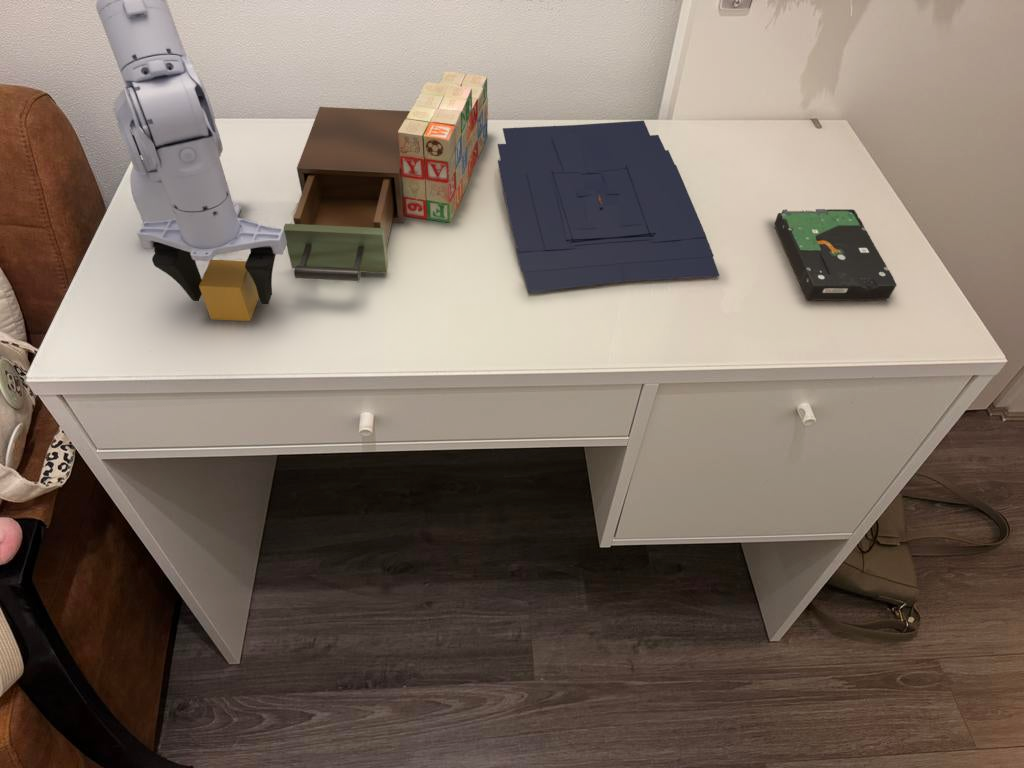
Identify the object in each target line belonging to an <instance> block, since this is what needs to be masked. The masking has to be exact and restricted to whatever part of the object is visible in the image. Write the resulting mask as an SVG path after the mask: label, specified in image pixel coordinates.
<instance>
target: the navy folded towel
mask: <svg viewBox="0 0 1024 768" xmlns="http://www.w3.org/2000/svg"><path fill="white" fill-rule="evenodd" d="M502 133H503V137H504V142H505V143H497V150H498V154H499V160H497V165H498V170H499V175H500V181H501V186H502V190H503V195H504V199H505V204H506V207H507V213H508V216H509V221H510V225H511V231H512V235H513V238H514V244H515V248H516V254H517V258H518V262H519V266H520V271H521V273H523V277H524V282H525V285H526V288H527V293H529V294H530V293H539V292H546V291H554V290H562V289H572V288H580V287H587V286H596V285H603V284H613V283H621V282H632V281H633V282H635V281H654V280H670V279H671V280H672V279H674V280H675V279H690V278H693V279H694V278H708V277H709V278H710V277H713V278H714V277H721V275H720V272H719V270H718V267H717V264H716V261H715V259H714V253H713V251H712V248H711V246H710V243H709V240H708V238H707V234H706V232H705V230H704V228H703V225H702V223H701V220H700V218H699V215H698V213H697V210H696V209H695V206H694V204H693V201H692V199H691V196H690V194H689V192H688V190H687V187H686V185H685V183H684V180H683V178H682V175H681V174H680V173H681V172H680V171H679V168H678V166H677V164H675V162H674V159H673V157H672V155H671V153H670V150H669V149H666V148H665V146H664V144H663V142H662V139H661V138H660V136H659V134H652V135H651V134H650V132H649V129H648V127H647V124H646V122H645V120H631V121H615V122H600V123H585V124H568V125H545V126H543V125H542V126H523V127H503V128H502Z"/></svg>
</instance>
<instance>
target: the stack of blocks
mask: <svg viewBox="0 0 1024 768" xmlns="http://www.w3.org/2000/svg"><path fill="white" fill-rule="evenodd" d="M409 111H410V112H409V114H408V116H407V118H406V119H405V120H404V122H403V124H402V126H401V127H400V129H399V131H398V139H399V150H400V166H401V175H402V182H403V194H404V196H403V199H404V211H405V217H411V218H416V219H424V220H431V221H437V222H444V223H449V224H450V223H451V222H452V220H453V218H454V215H455V213H456V210H457V209H458V207H459V205H460V203H461V200H462V198H463V195H464V194H465V192H466V189H467V186H468V184H469V180H470V177H471V175H472V172H473V169H474V167H475V165H476V163H477V160H478V159H479V157H480V155H481V153H482V150H483V148H484V145H485V144H486V140H487V138H488V125H489V124H488V122H489V121H488V120H489V119H488V118H489V97H488V76H485V75H477V74H472V73H460V72H453V71H447V70H446V71H444V72H443V74H442V75H441V77H440V80H439V82H438V83H437V82H430V81H426V82H425V84H424V85H423V87H422V89H421V91H420V93H419V95H418V97H417V99H416V101H415V102H414V105H413V106H412V107H411V109H410V110H409Z"/></svg>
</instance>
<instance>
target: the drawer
mask: <svg viewBox="0 0 1024 768" xmlns="http://www.w3.org/2000/svg"><path fill="white" fill-rule="evenodd" d="M395 205H396V199H395V189H394V178H393V177H374V176H353V175H332V174H311V173H309V175H308V178H307V180H306V183H305V186H304V189H303V192H302V191H301V195H300V198H299V200H298V204H297V206H296V209H295V212H294V214H293V223H285V224H284V226H283V229H284V232H285V236H286V240H287V244H286V249H287V252H288V258H289V261H290V265H291V268H292V269H294V278H295V279H297V280H299V279H300V280H319V281H320V280H321V281H322V280H323V281H341V282H360V280H361V273H381V274H383V273H384V274H387V273H388V269H389V263H388V253H387V248H388V242H389V237H390V233H391V229H392V224H393V222H392V219H393V214H394V210H395Z"/></svg>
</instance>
